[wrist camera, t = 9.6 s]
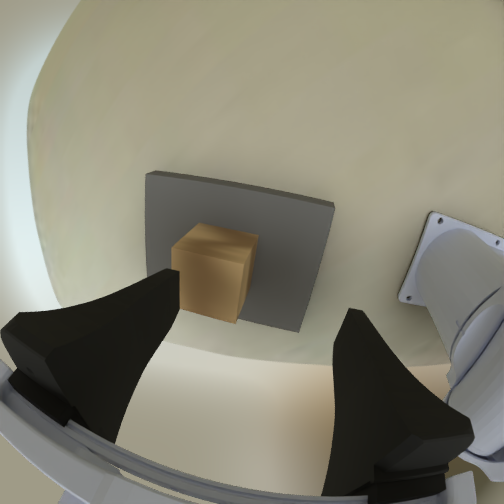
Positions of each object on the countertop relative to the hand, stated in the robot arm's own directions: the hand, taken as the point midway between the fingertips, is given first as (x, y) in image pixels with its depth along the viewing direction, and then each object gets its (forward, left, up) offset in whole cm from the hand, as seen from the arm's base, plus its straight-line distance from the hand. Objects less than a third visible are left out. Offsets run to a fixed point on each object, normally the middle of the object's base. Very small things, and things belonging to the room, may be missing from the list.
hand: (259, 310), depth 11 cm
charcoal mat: (+4, +3, -10) cm, 11 cm away
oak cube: (+4, +3, -9) cm, 10 cm away
